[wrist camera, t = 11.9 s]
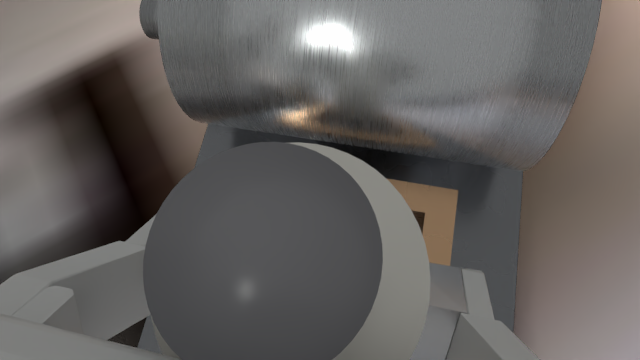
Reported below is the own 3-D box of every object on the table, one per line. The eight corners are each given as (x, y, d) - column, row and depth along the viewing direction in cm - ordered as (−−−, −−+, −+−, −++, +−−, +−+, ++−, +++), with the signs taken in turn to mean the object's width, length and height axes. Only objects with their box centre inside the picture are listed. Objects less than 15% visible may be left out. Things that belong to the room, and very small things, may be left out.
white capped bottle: (246, 355, 15) (15, 413, 5) (278, 225, 17) (151, 68, 7) (381, 388, 15) (427, 535, 4) (402, 249, 16) (473, 113, 6)
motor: (109, 372, 20) (-148, 421, 10) (229, 10, 27) (148, -183, 17) (488, 470, 18) (667, 675, 7) (518, 41, 24) (635, -167, 14)
